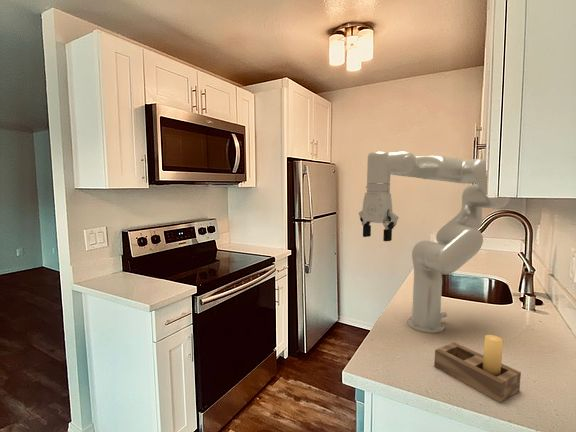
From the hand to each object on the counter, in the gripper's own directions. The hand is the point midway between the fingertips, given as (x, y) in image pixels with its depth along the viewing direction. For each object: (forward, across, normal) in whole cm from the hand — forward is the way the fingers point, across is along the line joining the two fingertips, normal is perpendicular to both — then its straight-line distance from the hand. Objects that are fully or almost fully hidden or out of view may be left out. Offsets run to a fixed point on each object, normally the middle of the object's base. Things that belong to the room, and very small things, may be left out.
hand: (376, 238), depth 113 cm
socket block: (+33, +34, +4) cm, 48 cm away
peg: (+32, +38, +3) cm, 50 cm away
